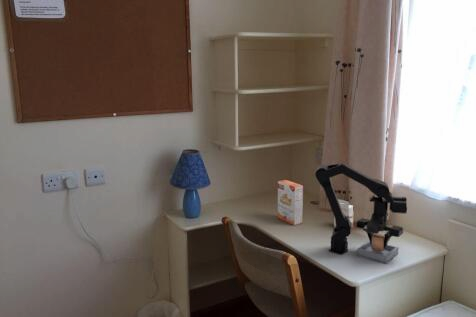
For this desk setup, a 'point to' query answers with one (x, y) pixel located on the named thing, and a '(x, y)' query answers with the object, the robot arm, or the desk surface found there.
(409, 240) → the desk surface
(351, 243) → the desk surface
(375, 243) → the terracotta cup
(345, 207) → the ink cartridge box
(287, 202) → the cracker box
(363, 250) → the tray
